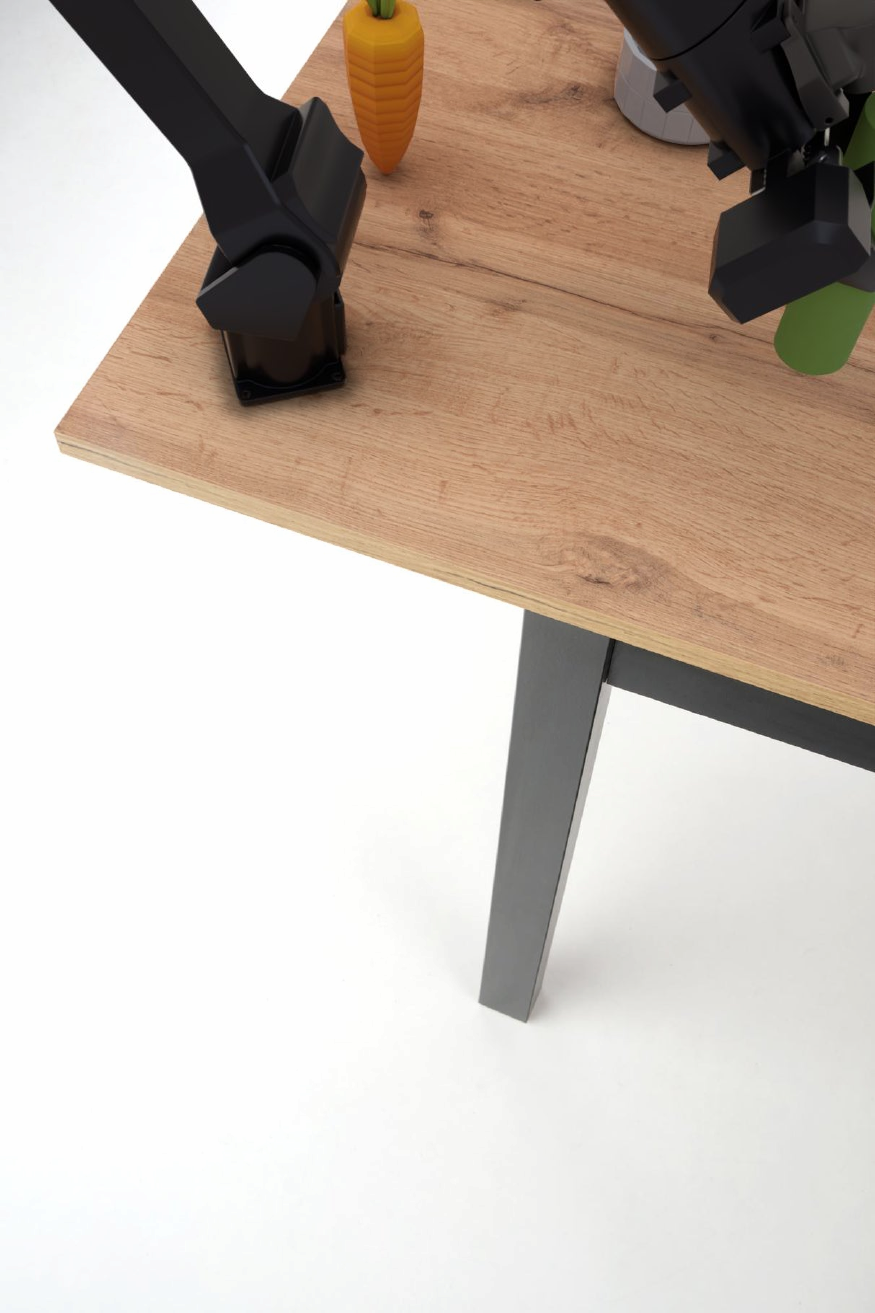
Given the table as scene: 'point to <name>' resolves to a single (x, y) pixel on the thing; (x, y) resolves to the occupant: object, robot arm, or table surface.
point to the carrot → (384, 75)
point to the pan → (650, 99)
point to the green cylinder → (830, 293)
